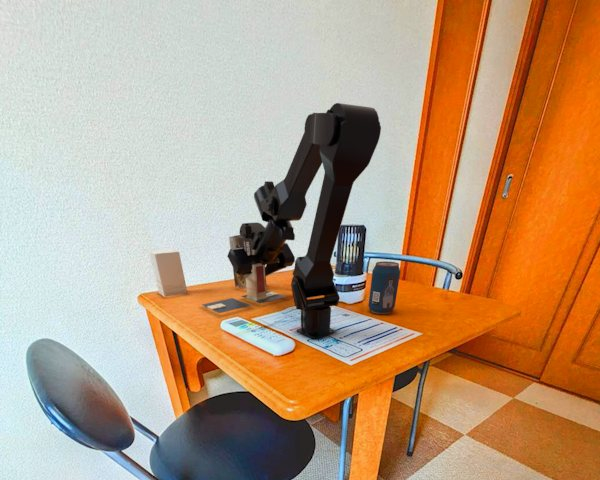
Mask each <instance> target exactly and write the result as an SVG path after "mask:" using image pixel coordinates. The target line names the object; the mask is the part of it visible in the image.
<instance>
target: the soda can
mask: <svg viewBox="0 0 600 480" xmlns="http://www.w3.org/2000/svg"><path fill="white" fill-rule="evenodd" d="M371 272H372V273H371V280H370V289H369V297H368V304H367V306H368V309H369V311H370V312H371V313H373V314H378V315H387V314H388V315H389V314H391V313H392V312H393V310H395V307H396V301H397V294H398V289H399V283H400V276H401V269H400V263H399V262H395V261H377V262H375V266H373V269H372V271H371Z"/></svg>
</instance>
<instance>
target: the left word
mask: <svg viewBox="0 0 600 480" xmlns="http://www.w3.org/2000/svg"><path fill="white" fill-rule="evenodd" d="M201 306H203V307H205V308H207V309H209V310H211V311H213V312H216V313H218V314H221V313H226V312H230V311H234V310H238V309H239V310H240V309H242V308H246V307H251V306H252V305H251V304H250V303H249V304H248V303H246V302H244V301H241V300H238V299H236V298H234V297H231V298H226V299H221V300H217V301H212V302H207V303H202V304H201Z"/></svg>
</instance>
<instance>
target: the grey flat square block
mask: <svg viewBox="0 0 600 480" xmlns="http://www.w3.org/2000/svg"><path fill="white" fill-rule="evenodd" d="M241 297H242V298H245V299H247V300H250V301H252V302H255V303H258V304H263V303H268V302H272V301H276V300H281V299H284V298H287V296H286V295H283V294H280V293H277V292H273V291H270V290H266V297H267V298H264V299H259V300H255V299H253V298H250V297H247V294H245V295H241Z"/></svg>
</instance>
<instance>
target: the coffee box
mask: <svg viewBox="0 0 600 480" xmlns="http://www.w3.org/2000/svg"><path fill="white" fill-rule="evenodd" d="M228 241H229V250H230V249H236V248H244V249H245V251H246V253H247V255H254V250H252V248H251V246H250V245H251V242H250V241H249V240H248V239H244V238H243V237H242V236H241V235H240V234H236V235H231V236H228ZM264 266H265V267H266V265H264ZM232 272H233V280H234V286H235V288H238V289H239V288H240V289H245V290H247V287H246V278H245V279H244V280H243V281H241V280H240V278H239V274H237V273H236V272H235V270H234V268H233V267H232ZM265 281H266V282H267V276H265Z"/></svg>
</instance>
